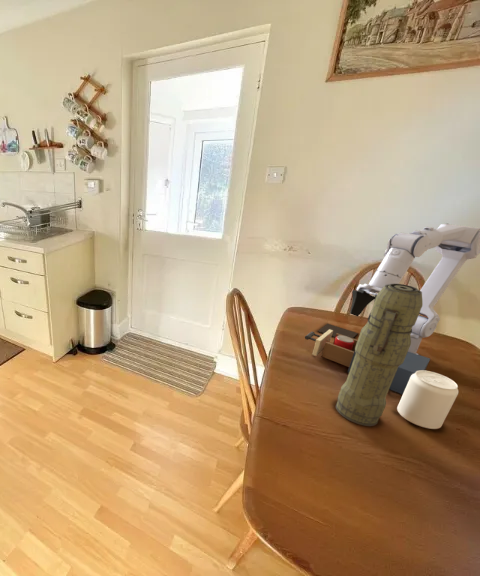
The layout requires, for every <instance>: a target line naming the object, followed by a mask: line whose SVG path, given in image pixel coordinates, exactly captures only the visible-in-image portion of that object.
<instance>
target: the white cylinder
mask: <svg viewBox="0 0 480 576" xmlns="http://www.w3.org/2000/svg"><path fill="white" fill-rule="evenodd" d="M458 388H459V386H458V384H457V383H456V382H455V381H454V380H453V379H452V378H449V377H448V376H445V375H443V374H441V373H438V372H435V371H430V370H419V371H416V372H415V373H414V374H412V375H411V377H410V379H409V381H408V384H407V386H406V388H405V391H404V393H403V394H401V395H402V396H401V398H400V400H399V403H398V404H397V407H396V410H397V412H398V414H399V415H400V416H401V417H402V418H404V419H405V420H407V421H408V422H410V423H412V424H414V425H416V426H419V427H422V428H425V429H431V430H438V429H441V428H442V426H443V424H444V422H445V420H446V418H447V416H448V415H449V413H450V410H451V409H452V407H453V405H454V403H455V401H456V399H457V397H458V395H459V389H458Z"/></svg>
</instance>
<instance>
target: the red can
mask: <svg viewBox="0 0 480 576" xmlns="http://www.w3.org/2000/svg"><path fill="white" fill-rule="evenodd" d="M334 339H335V341H334V340H333V342H334V345H337V346H340V347H342V348H345V349H348V350H352V347H353V344H354V340H353V339H354V338H353V339H351V338H350V337H347V336H342V335H339V336H336V338H334Z"/></svg>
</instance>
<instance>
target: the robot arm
mask: <svg viewBox="0 0 480 576" xmlns="http://www.w3.org/2000/svg"><path fill="white" fill-rule="evenodd" d="M434 248H435V252H436V253H438V254H440V255H441V259H440V260H439V262H438V263H437V265H436V266H435V267H434V269H433V271H432V272H431V274H430V275H429V276H428V278H427V280H426V281H425V282H424V284H423V286H422V287H421V288H420V289H419V290H420V291H421V292H422V308H421V310H420V313H419V315H418V318H417V320H416V323H415V325H414V326H413V327H412V332H411V335H410V336H411V345H410V347H409V350H408V352H411V353H414V354H418V355H420V354H419V353H417V352H418V350H419V348H420V345H421V343H422V340H423V339H425V338H429V337H430V336H431V335H433V333H434V332H435V331H436V329H437V326H438V323H439V322H440V321H441V319H440V318H441V317H440V315H439V314H438V313H437V311H436V310H435V309H434V307H435V306H436V305H437V303H438V302H439V300H440V299H441V297H442V296H443V295H444V293H445V291H446V290H447V289H448V287H449V286H450V284H451V283H452V281H453V280H454V279H455V277H456V276H457V274H458V272H459V271H460V269H461V268H462V267H463V265H464V264H465V263H466V261H468V260H473V259H476V258H477V257H478V256H479V255H480V227H478V226H477V227H476V226H469V225H461V224H452V223H447V222H446V223H445V222H444V223H440V225H439V226H438V227H437V228H434V227H433V226H424V227H423V228H422V229H419V230H417V229H416V230H412V232H398V233H394V234H393V235H392V236H391V238H389V239H388V241H387V245H386V249H385V250H384V253H383V256H384V257H383V259H382V260H381V262H380V264H379V265H378V267H377V269H376V270H375V272H374V274H373V275H372V277H371V279H370V281H368V283H364V284H361V283H360V284H358V286H357V287H356V289H352V291H351V294H352V302H351V307H350V311H349V314H350V315H353V316H355V317H359V316H360V315H361V314H362V312H363V311H364V310H365V309H366V307H368V305H369V304H370V303H371V302H373V301H374V302H375V299H376V296H377V294H378V293H379V292H380V291H381V289H382V288H383V287H384V286H385V285H388V284H401V281H402V279H403V278H404V276H405V275H406V273H407V272H408V270H409V268H410V267H411V265H412V264H413V262H414V260H415V259H416V258H420V257H421V256H423V255H424V253H426V252H427V251H428V250H431V249H434ZM374 302H373V303H374ZM371 311H372V309H371ZM371 311H370V313H371ZM370 313H369V314H368V317H367V320H368V319H370V317H371V315H370Z"/></svg>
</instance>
